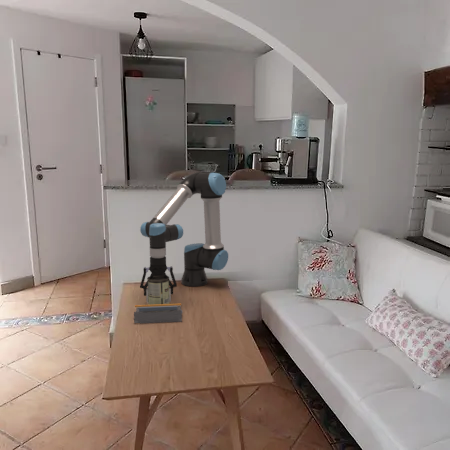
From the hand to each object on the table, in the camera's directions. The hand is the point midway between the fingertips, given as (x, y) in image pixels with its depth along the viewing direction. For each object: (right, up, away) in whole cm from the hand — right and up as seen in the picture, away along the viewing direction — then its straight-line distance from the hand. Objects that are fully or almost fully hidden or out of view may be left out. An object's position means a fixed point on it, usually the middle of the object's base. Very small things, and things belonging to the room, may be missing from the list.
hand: (158, 301), depth 207 cm
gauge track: (+1, -5, -6) cm, 8 cm away
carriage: (+1, -4, -9) cm, 10 cm away
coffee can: (0, -2, 0) cm, 3 cm away
